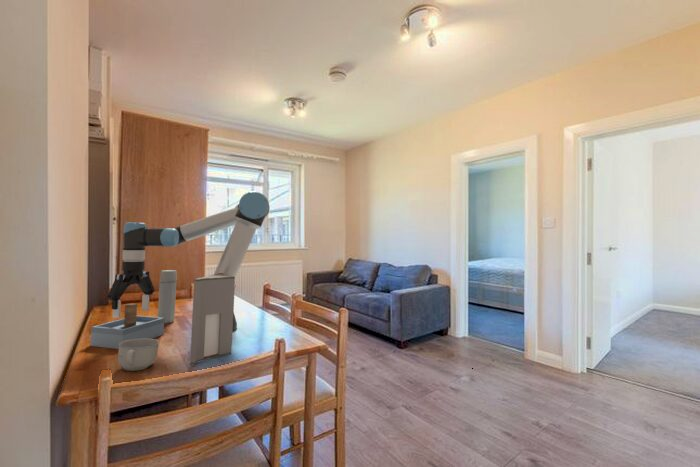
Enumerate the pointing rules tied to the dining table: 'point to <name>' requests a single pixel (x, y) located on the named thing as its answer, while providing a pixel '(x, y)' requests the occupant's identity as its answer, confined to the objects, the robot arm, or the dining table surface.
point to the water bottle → (167, 295)
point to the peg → (130, 315)
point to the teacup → (137, 353)
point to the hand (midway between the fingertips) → (131, 313)
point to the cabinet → (212, 317)
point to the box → (126, 331)
